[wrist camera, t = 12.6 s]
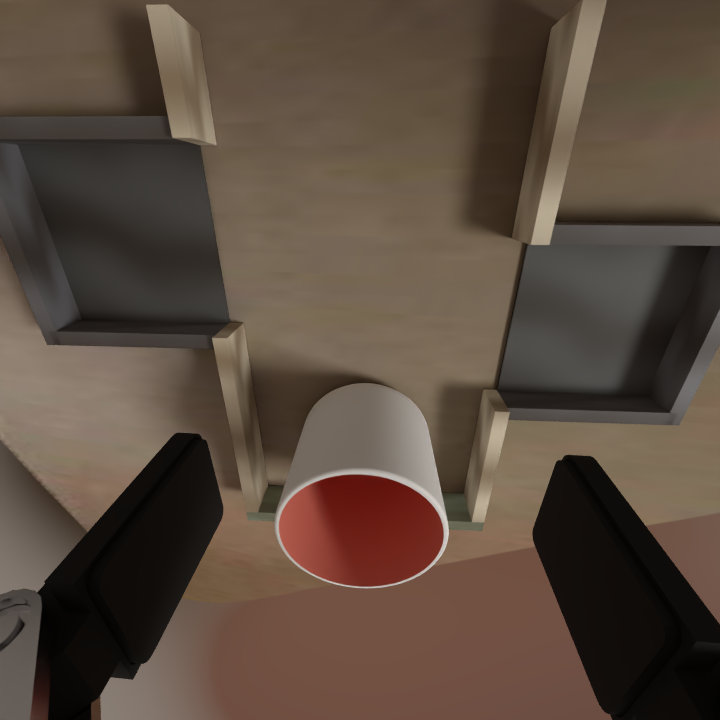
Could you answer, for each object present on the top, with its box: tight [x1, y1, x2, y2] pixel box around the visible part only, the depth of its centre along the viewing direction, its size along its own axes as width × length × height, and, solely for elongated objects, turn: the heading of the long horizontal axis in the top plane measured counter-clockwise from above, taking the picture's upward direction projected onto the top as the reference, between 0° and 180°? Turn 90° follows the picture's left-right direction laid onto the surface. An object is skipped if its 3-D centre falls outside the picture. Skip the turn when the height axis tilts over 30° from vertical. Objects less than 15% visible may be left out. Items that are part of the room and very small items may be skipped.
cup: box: [274, 383, 449, 588], centre depth 24 cm, size 10×10×10 cm
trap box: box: [0, 0, 720, 531], centre depth 23 cm, size 33×44×3 cm
